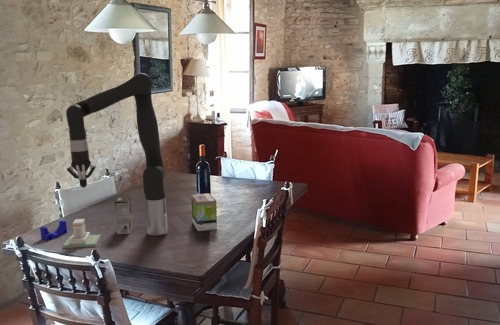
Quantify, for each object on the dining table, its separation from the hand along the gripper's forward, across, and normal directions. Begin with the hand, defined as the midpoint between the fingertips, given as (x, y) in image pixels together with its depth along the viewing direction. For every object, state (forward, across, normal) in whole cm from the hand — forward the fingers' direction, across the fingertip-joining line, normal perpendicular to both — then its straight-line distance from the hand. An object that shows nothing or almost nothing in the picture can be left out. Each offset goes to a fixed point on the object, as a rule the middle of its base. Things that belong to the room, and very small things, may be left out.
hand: (83, 187), depth 221 cm
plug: (+24, +3, +4) cm, 24 cm away
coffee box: (+26, -15, -9) cm, 31 cm away
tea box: (+27, -53, -10) cm, 60 cm away
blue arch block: (+25, +17, -7) cm, 31 cm away
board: (+25, +2, +4) cm, 25 cm away
